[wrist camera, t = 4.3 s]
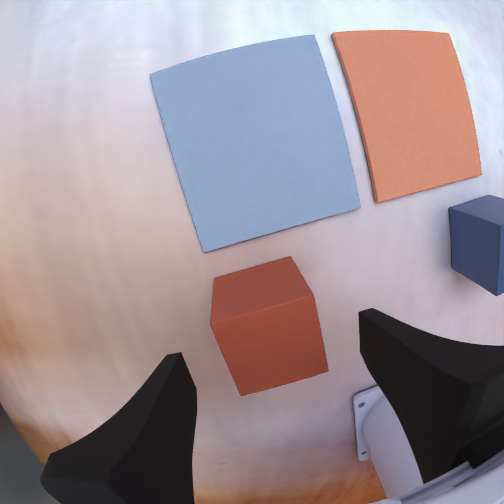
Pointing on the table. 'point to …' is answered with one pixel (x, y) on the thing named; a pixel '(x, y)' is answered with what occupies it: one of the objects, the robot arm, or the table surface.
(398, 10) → the table surface
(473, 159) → the terracotta mat
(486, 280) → the slate-blue block
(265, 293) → the terracotta block
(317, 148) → the blue mat
